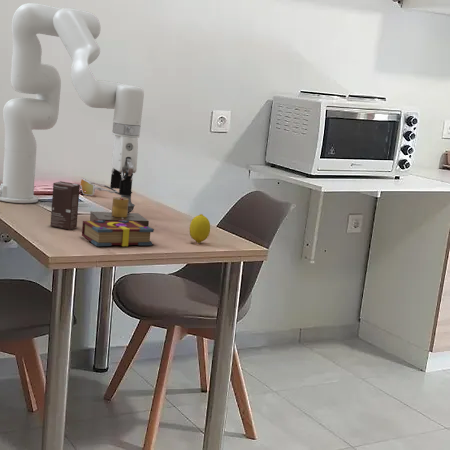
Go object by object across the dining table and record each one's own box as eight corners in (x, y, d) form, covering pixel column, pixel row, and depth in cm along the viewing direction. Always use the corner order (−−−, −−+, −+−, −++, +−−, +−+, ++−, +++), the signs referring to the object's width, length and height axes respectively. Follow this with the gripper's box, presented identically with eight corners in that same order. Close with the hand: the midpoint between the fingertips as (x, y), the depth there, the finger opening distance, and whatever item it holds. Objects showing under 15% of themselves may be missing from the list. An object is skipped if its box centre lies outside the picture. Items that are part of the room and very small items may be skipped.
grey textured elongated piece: (130, 218, 225) (133, 179, 222) (111, 215, 226) (115, 176, 223) (136, 215, 230) (140, 177, 228) (118, 213, 231) (121, 174, 229)
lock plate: (98, 230, 203) (99, 218, 203) (89, 221, 213) (90, 210, 213) (147, 231, 209) (149, 220, 208) (137, 223, 219) (137, 212, 218)
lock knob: (110, 214, 212) (111, 195, 211) (125, 214, 213) (127, 196, 212) (113, 217, 208) (114, 198, 207) (128, 217, 209) (130, 199, 208)
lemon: (187, 240, 203) (190, 211, 202) (207, 242, 204) (211, 213, 202) (188, 244, 198) (191, 215, 196) (209, 246, 198) (212, 216, 197)
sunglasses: (74, 189, 267) (77, 175, 266) (114, 196, 274) (117, 183, 273) (84, 196, 254) (87, 181, 254) (125, 203, 261) (129, 189, 260)
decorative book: (80, 237, 193) (82, 218, 192) (138, 236, 201) (139, 218, 200) (96, 247, 183) (98, 227, 182) (156, 246, 192) (158, 227, 191)
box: (49, 226, 201) (52, 182, 199) (58, 224, 205) (61, 180, 203) (69, 230, 199) (72, 185, 197) (77, 227, 203) (81, 184, 201)
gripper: (148, 135, 200) (141, 198, 203) (131, 128, 216) (125, 186, 219) (121, 133, 197) (114, 196, 200) (105, 125, 213) (99, 185, 216)
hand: (120, 191), depth 210 cm, fingers open, 9 cm apart
